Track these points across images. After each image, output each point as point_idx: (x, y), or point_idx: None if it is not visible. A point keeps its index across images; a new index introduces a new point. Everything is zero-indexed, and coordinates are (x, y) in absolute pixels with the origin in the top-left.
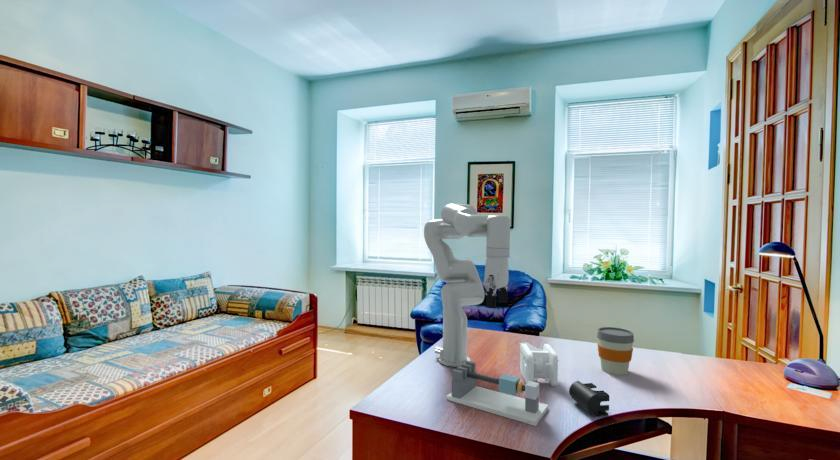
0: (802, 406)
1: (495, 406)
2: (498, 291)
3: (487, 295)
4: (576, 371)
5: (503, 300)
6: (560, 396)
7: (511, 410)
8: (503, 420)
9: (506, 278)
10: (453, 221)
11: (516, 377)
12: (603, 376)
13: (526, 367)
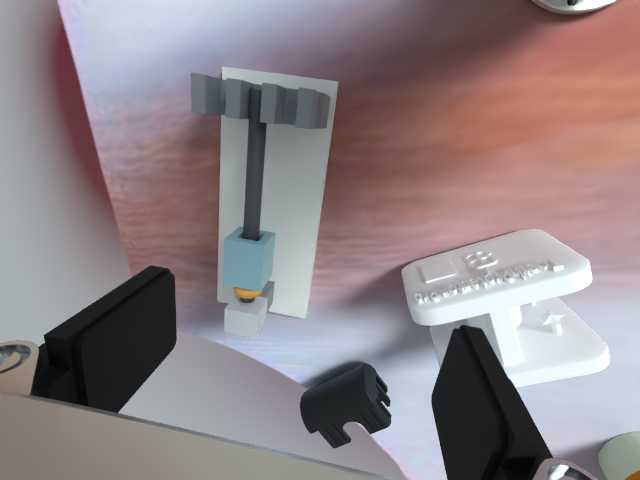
0: None
1: (234, 213)
2: (496, 434)
3: (54, 347)
4: (599, 373)
5: (441, 394)
6: (389, 335)
7: None
8: (206, 236)
9: None
10: None
11: (257, 283)
12: (575, 428)
13: (424, 281)
